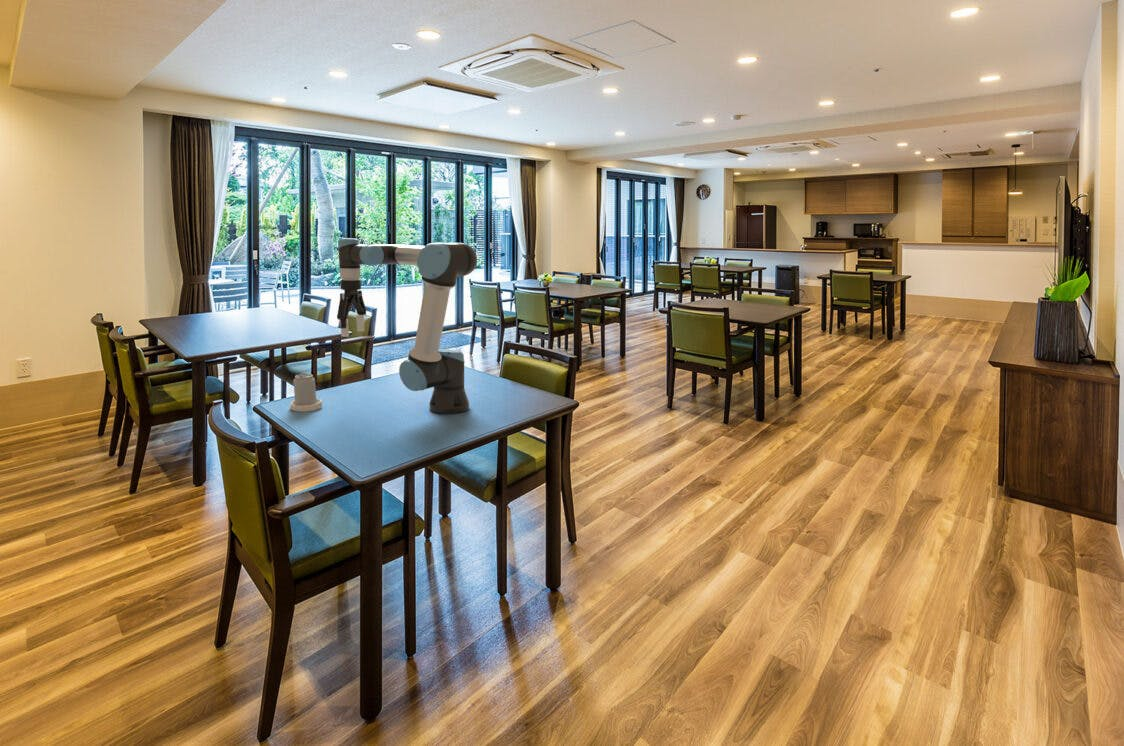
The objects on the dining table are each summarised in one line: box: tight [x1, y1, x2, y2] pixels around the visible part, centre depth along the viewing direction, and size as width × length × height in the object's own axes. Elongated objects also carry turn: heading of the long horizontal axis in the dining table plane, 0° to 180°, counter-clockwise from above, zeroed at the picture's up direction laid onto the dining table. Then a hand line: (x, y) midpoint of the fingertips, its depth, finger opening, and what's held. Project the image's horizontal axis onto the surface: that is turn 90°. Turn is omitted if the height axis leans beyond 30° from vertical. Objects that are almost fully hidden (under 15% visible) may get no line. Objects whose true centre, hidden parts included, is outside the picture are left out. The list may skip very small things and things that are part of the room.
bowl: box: [290, 397, 323, 413], centre depth 234 cm, size 11×11×2 cm
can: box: [292, 373, 317, 405], centre depth 233 cm, size 8×8×12 cm
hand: (353, 333), depth 242 cm, fingers open, 13 cm apart
